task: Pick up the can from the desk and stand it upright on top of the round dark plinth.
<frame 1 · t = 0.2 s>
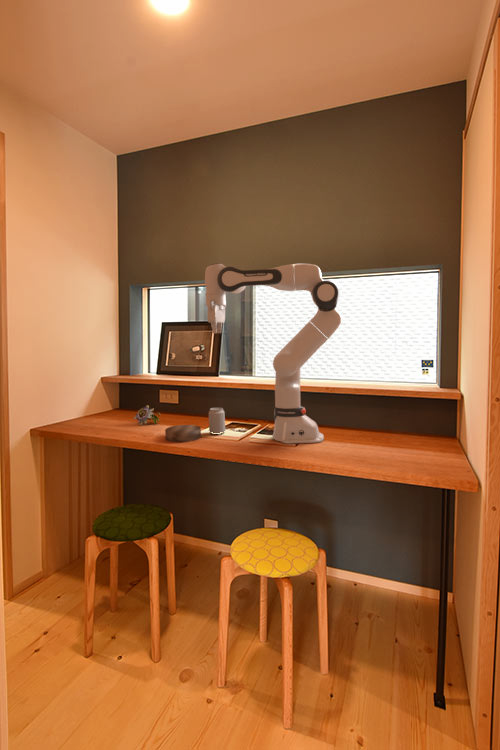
hand: (217, 333, 180), 47 cm above the table, tool pointing down, fingers open, 8 cm apart
passion flower: (147, 424, 216), on the table
plinth: (183, 437, 186), on the table
can: (217, 433, 191), on the table
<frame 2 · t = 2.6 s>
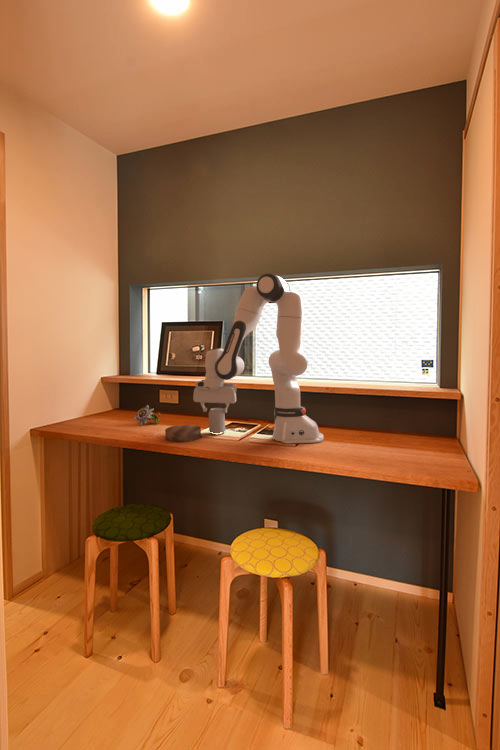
hand: (214, 412, 190), 10 cm above the table, tool pointing down, fingers open, 8 cm apart
can: (217, 434, 191), on the table, touching gripper
everything else where it was.
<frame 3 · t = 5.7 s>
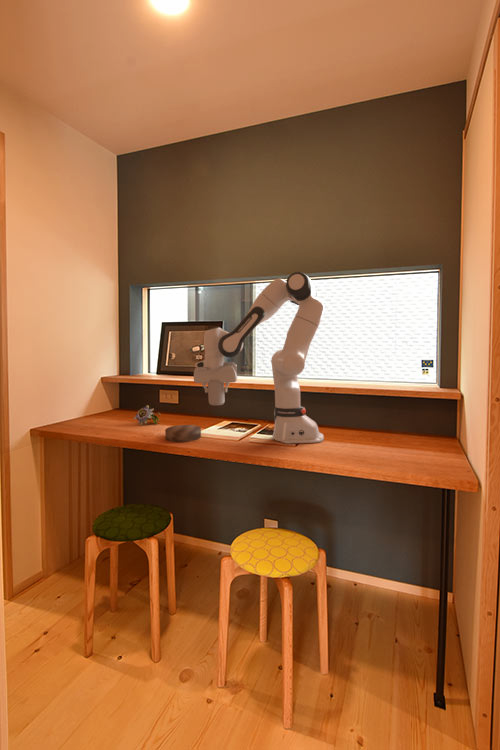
hand: (216, 392, 189), 20 cm above the table, tool pointing down, fingers closed on can, 7 cm apart
can: (216, 404, 189), point 14 cm above the table, touching gripper
everything else where it was.
when the fingers open (10 cm above the table, at t = 9.8 s): can stays where it is, resting on plinth.
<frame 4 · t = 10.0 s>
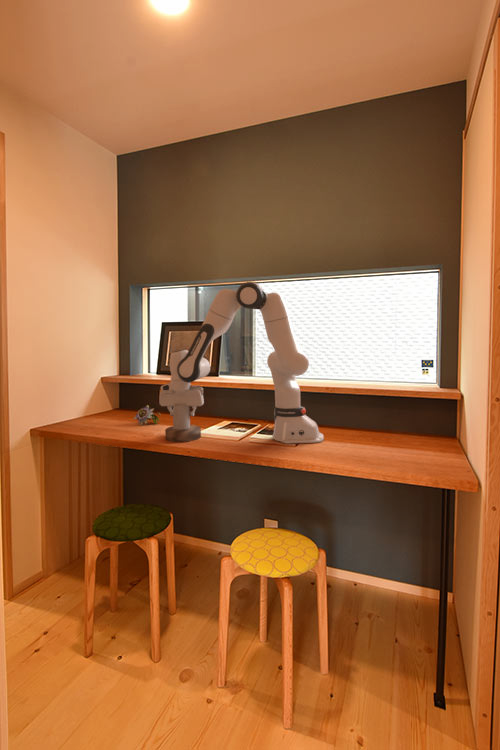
hand: (182, 415, 185), 10 cm above the table, tool pointing down, fingers open, 8 cm apart
can: (182, 429, 184), point 4 cm above the table, touching plinth
everything else where it was.
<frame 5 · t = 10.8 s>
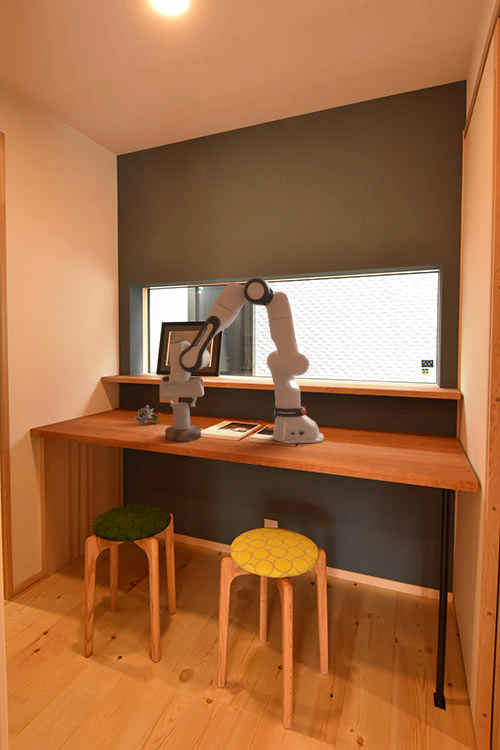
hand: (183, 406, 184), 14 cm above the table, tool pointing down, fingers open, 8 cm apart
can: (182, 429, 184), point 4 cm above the table, touching gripper, plinth
everything else where it was.
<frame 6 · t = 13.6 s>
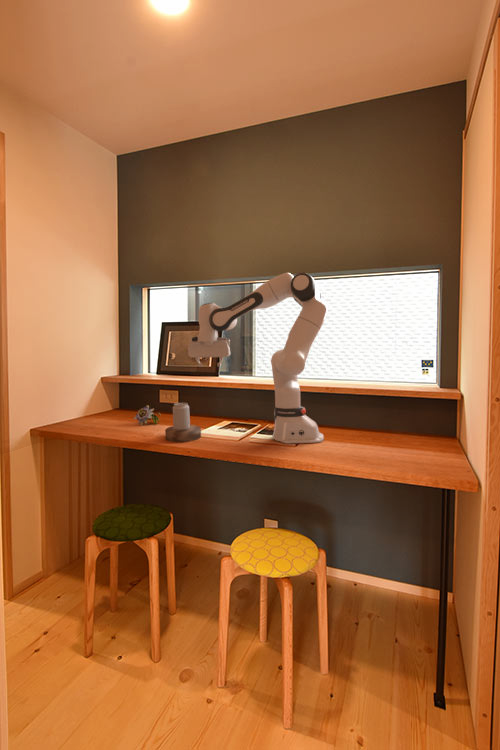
hand: (209, 366, 194), 31 cm above the table, tool pointing down, fingers open, 8 cm apart
can: (182, 429, 184), point 4 cm above the table, touching plinth
everything else where it was.
at the end: can inside the target area on the plinth (1.2 cm from its centre), point 3.8 cm above the plinth's base; can tilted 0°; the gripper is holding nothing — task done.
